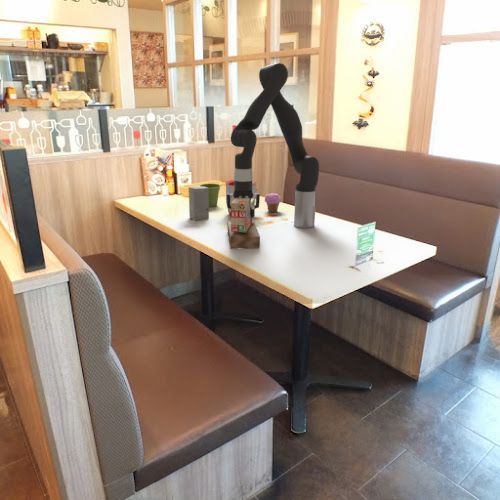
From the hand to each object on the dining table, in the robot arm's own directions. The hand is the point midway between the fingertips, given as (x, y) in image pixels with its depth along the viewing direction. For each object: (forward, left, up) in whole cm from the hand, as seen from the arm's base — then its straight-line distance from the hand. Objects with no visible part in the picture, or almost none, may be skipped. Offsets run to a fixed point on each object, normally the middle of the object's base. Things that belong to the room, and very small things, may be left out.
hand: (243, 217), depth 190 cm
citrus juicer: (-3, -42, -10) cm, 43 cm away
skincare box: (+19, -36, -10) cm, 42 cm away
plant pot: (+13, -63, -10) cm, 65 cm away
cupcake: (-20, -48, -10) cm, 53 cm away
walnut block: (0, 0, -10) cm, 10 cm away
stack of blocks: (0, 0, -4) cm, 4 cm away
